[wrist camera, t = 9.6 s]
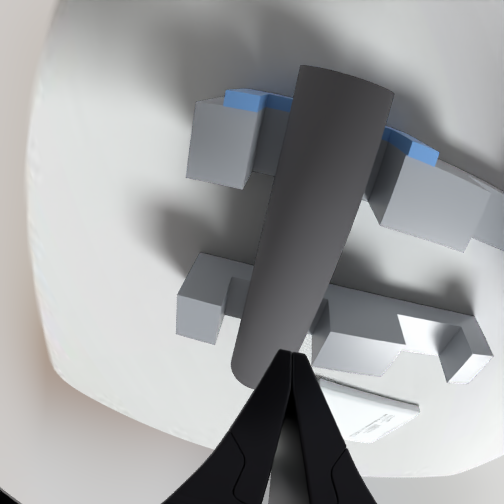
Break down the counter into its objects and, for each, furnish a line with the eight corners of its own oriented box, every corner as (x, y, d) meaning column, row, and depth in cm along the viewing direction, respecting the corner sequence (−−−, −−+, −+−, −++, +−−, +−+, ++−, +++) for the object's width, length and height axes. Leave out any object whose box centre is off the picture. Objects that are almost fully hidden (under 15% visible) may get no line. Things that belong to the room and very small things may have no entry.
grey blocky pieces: (537, 202, 12) (574, 233, 9) (454, 344, 19) (468, 385, 15) (224, 84, 13) (197, 85, 9) (196, 290, 20) (174, 336, 16)
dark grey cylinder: (379, 91, 11) (408, 96, 8) (288, 350, 19) (285, 395, 16) (299, 68, 11) (301, 62, 8) (235, 339, 19) (226, 383, 16)
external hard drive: (320, 372, 23) (418, 401, 24) (274, 411, 28) (367, 434, 29) (320, 388, 22) (420, 414, 23) (272, 424, 26) (368, 445, 27)
